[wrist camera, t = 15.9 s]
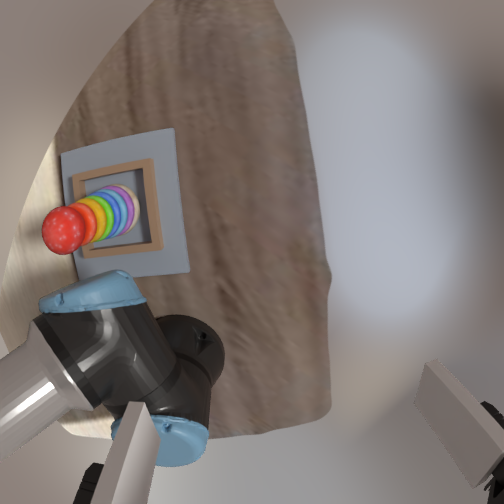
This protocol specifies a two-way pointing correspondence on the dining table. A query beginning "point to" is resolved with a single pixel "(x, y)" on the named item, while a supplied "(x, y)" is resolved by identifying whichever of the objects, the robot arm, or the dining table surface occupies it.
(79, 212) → the stacking toy
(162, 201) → the baseplate
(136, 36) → the dining table surface
